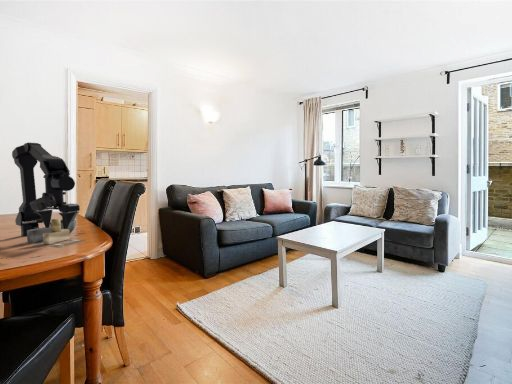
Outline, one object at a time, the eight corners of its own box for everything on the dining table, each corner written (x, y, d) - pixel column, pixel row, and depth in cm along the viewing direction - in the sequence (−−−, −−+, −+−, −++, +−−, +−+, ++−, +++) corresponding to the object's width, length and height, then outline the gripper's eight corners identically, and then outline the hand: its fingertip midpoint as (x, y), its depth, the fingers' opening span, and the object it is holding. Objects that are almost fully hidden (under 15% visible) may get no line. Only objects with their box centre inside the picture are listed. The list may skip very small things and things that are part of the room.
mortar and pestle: (50, 239, 123) (49, 212, 122) (50, 235, 131) (49, 209, 130) (80, 236, 130) (79, 210, 129) (79, 232, 138) (78, 208, 137)
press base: (22, 247, 111) (21, 231, 110) (51, 240, 122) (51, 225, 122) (61, 251, 106) (60, 234, 105) (87, 243, 118) (86, 228, 117)
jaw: (43, 243, 110) (41, 221, 109) (64, 238, 119) (63, 217, 118) (49, 244, 109) (48, 221, 108) (69, 238, 118) (68, 217, 117)
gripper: (14, 190, 107) (17, 231, 108) (53, 192, 102) (55, 234, 103) (43, 188, 118) (45, 225, 119) (79, 189, 113) (81, 228, 114)
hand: (56, 228), depth 113 cm, fingers open, 9 cm apart
